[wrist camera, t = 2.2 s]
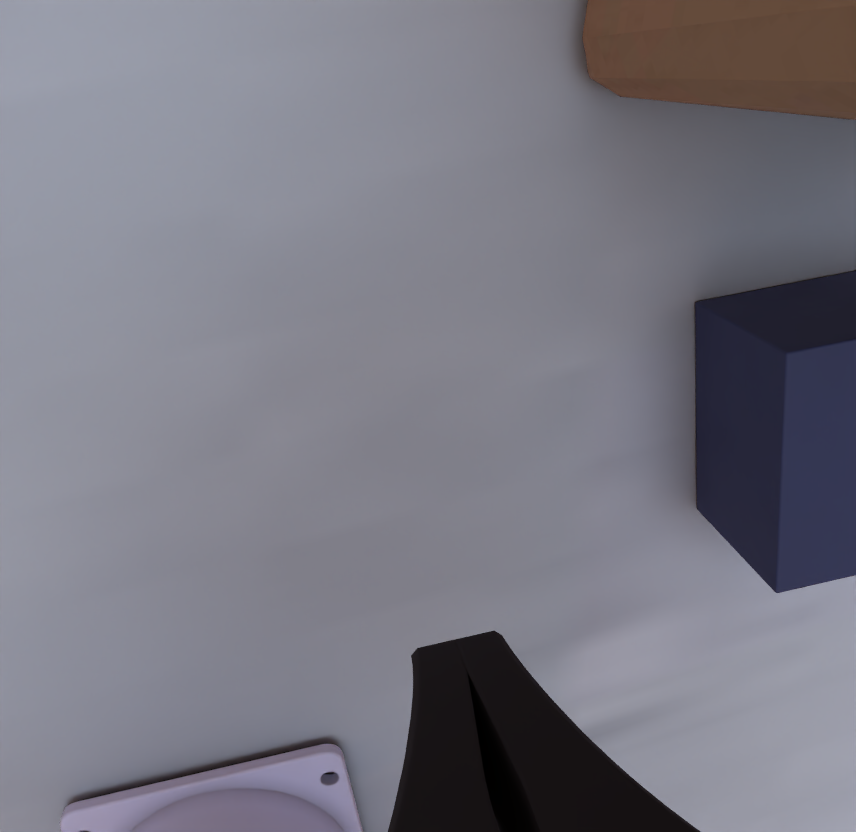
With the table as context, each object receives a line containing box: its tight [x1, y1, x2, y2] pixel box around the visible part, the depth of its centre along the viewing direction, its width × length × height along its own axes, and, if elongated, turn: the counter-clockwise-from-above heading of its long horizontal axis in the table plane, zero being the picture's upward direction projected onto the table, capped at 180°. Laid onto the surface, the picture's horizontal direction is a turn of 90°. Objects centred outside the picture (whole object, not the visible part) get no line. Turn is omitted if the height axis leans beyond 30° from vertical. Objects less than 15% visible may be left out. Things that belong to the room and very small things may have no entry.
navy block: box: [695, 271, 856, 593], centre depth 19 cm, size 6×6×4 cm
